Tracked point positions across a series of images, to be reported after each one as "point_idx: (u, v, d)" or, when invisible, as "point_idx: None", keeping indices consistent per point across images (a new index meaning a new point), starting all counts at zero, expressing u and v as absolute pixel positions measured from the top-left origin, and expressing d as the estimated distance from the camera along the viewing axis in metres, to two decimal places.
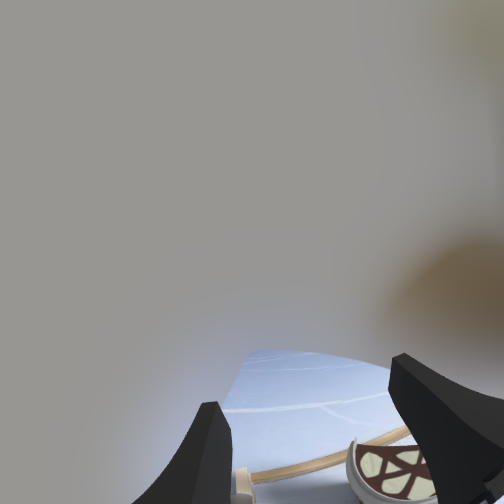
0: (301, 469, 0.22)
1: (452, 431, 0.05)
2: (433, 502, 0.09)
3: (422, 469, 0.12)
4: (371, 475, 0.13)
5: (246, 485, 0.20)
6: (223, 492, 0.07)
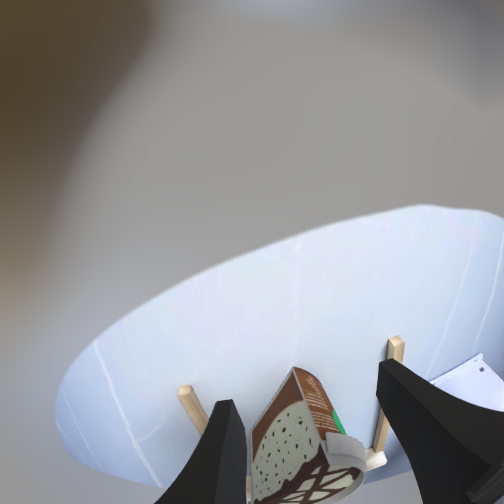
0: None
1: (437, 440, 0.05)
2: None
3: (316, 487, 0.13)
4: None
5: None
6: (240, 491, 0.07)
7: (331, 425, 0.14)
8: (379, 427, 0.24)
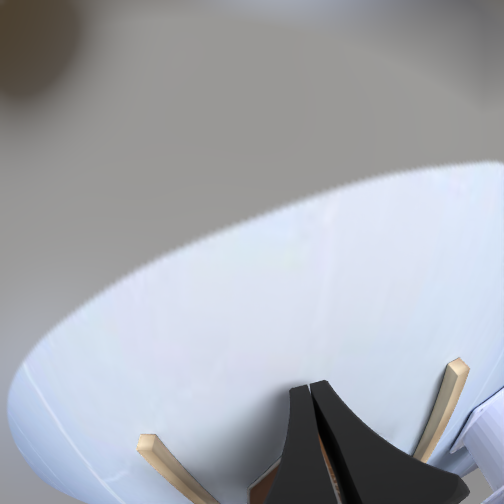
0: None
1: (346, 478, 0.05)
2: None
3: None
4: None
5: None
6: None
7: None
8: None
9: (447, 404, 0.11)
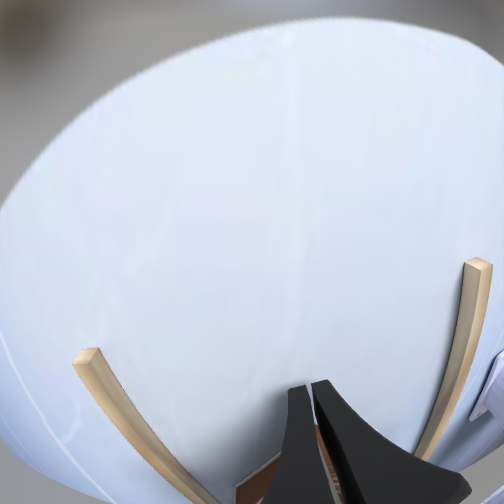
0: None
1: (349, 477, 0.05)
2: None
3: None
4: None
5: None
6: None
7: None
8: (430, 431, 0.13)
9: (472, 321, 0.09)
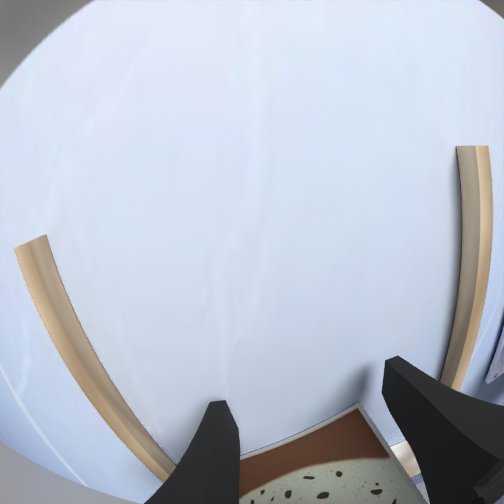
0: (157, 465, 0.11)
1: (444, 436, 0.05)
2: None
3: None
4: None
5: None
6: (232, 491, 0.07)
7: None
8: None
9: (480, 213, 0.08)
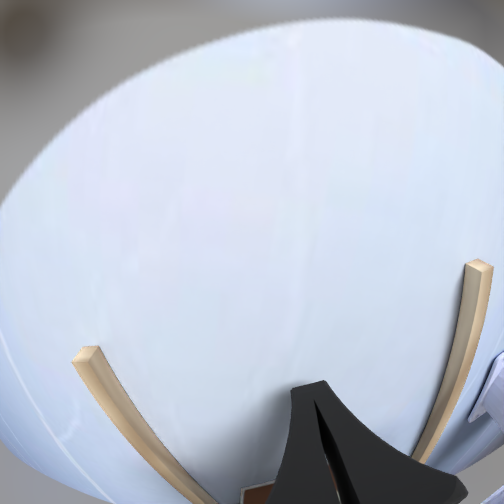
0: (193, 494, 0.13)
1: (345, 479, 0.05)
2: None
3: None
4: None
5: None
6: None
7: None
8: (428, 432, 0.13)
9: (473, 322, 0.10)
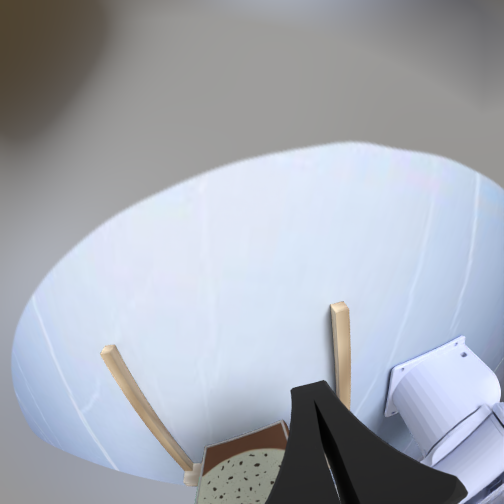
0: (171, 448, 0.22)
1: (345, 479, 0.05)
2: None
3: None
4: None
5: None
6: None
7: None
8: None
9: (337, 343, 0.19)
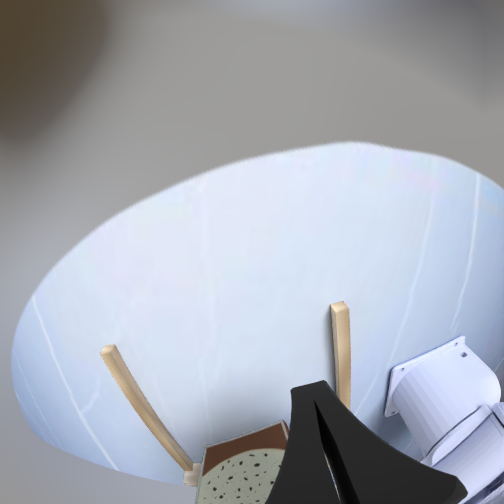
0: (171, 448, 0.22)
1: (345, 479, 0.05)
2: None
3: None
4: None
5: None
6: None
7: None
8: None
9: (337, 343, 0.19)
